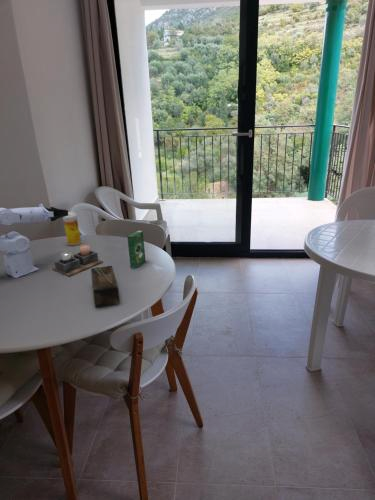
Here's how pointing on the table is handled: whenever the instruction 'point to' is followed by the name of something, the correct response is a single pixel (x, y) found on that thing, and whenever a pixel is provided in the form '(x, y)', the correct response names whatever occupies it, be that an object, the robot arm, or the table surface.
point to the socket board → (77, 264)
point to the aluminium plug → (66, 257)
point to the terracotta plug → (84, 250)
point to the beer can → (72, 229)
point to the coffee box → (136, 248)
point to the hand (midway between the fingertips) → (63, 212)
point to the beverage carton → (104, 286)
